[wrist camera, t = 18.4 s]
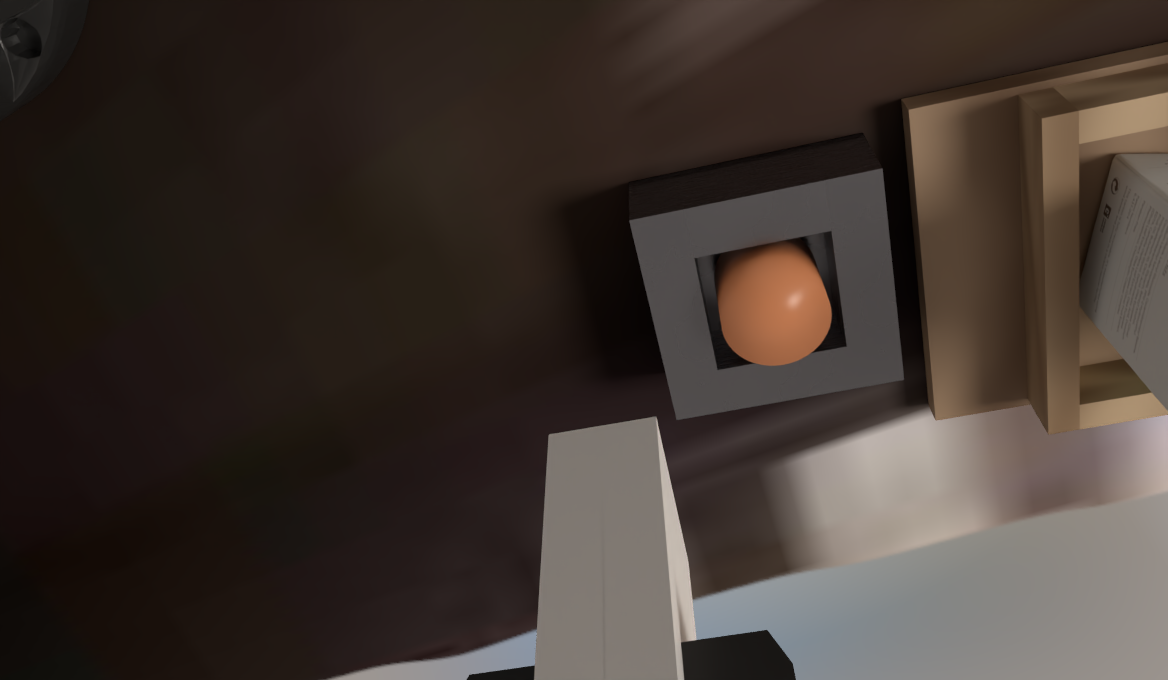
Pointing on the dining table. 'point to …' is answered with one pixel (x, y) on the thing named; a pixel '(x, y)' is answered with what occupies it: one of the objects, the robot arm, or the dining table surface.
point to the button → (772, 302)
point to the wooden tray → (1026, 235)
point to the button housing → (755, 217)
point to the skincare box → (1132, 267)
